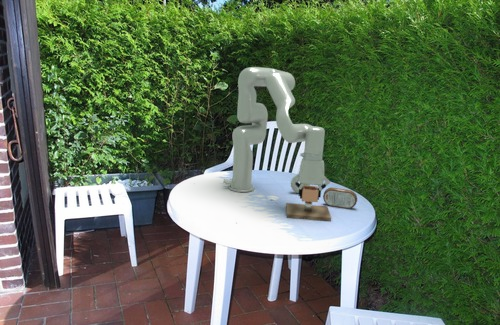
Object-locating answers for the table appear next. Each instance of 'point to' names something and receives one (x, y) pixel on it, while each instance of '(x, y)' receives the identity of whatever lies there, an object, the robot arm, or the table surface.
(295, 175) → the donut
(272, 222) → the table surface
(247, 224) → the table surface
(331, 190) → the tin
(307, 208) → the domed metal cylinder
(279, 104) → the robot arm
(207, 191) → the table surface
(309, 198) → the hollow square tube
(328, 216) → the board
